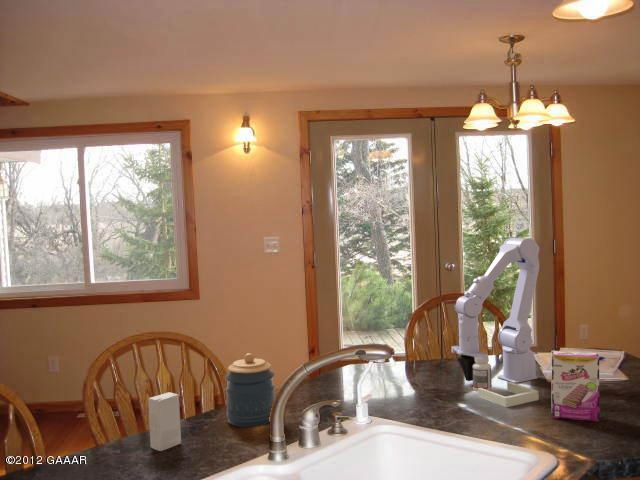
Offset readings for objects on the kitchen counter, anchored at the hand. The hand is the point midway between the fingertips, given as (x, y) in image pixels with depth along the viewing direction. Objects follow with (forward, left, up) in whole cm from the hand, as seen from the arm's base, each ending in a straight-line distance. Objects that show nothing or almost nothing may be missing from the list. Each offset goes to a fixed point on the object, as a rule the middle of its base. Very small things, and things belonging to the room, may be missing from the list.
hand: (469, 380), depth 185 cm
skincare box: (+92, +1, -2) cm, 92 cm away
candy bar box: (-3, +37, -2) cm, 37 cm away
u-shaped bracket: (0, +16, -1) cm, 16 cm away
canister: (+68, -6, -2) cm, 68 cm away
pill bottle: (0, +6, -2) cm, 6 cm away
